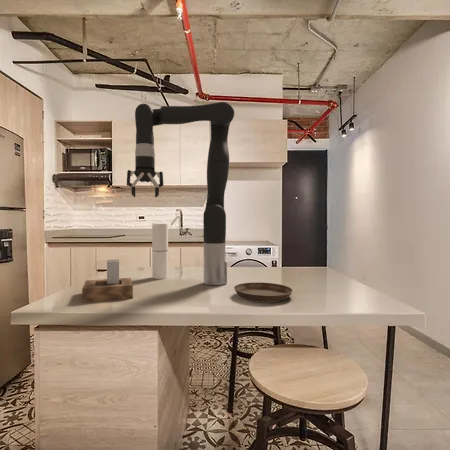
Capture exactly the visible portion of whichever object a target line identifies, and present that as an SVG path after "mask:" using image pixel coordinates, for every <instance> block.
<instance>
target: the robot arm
mask: <svg viewBox="0 0 450 450" xmlns="http://www.w3.org/2000/svg"><path fill="white" fill-rule="evenodd" d="M234 117H235V109H234V107H233V106H232V104H230V103H228V102H225V101H220V102H214V103H207V104H200V105H163V106H161V107H160V108H155V109H154V108H152V107H151V106H150V105H149V104H147V103H140V104H139V105H137V107H136V108H135V111H134V118H135V121H134V122H135V129H136V131H135V149H134V151H135V152H134V155H135V160H134V161H135V163H134V164H135V167H134V168H135V169H134V170H130V169H128V170H127V172H126V186H128V187H130V188H131V189H130V190H131V196H132V197H133V198H136V185H137V184H138V183H139V182H141V183H144V182H145V183H151V184H152V185H153V186H154V187H155V188H154V198H158V197H159V195H160V188H162V187H164V172H163V171H156V170H155V169H156V168H155V167H156V164H155V163H156V162H155V161H156V160H155V159H156V154H155V138H154V137H155V136H154V127H155V126H161V125H183V124H190V123H195V122H210V142H209V148H208V155H207V161H206V162H207V163H206V185H207V186H206V188H207V194H206V203H205V208H204V212H203V220H202V221H203V232H202V233H203V284H204V285H206V286H207V285H208V286H221V285H226V284H228V261H227V260H226V236H227V233H226V231H227V214H226V210H225V193H226V188H227V183H228V179H229V178H228V177H229V170H230V169H229V168H230V153H229V152H230V151H229V146H228V137H229V136H228V135H229V130H230V124H231V122H233V120H234ZM133 175H134V176H135V178H136V179H135V180H134V181H133V182H132V183H131V177H132V176H133ZM155 177H157V178H158V180H159V181H158V182H157V181H156V179H155Z"/></svg>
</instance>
